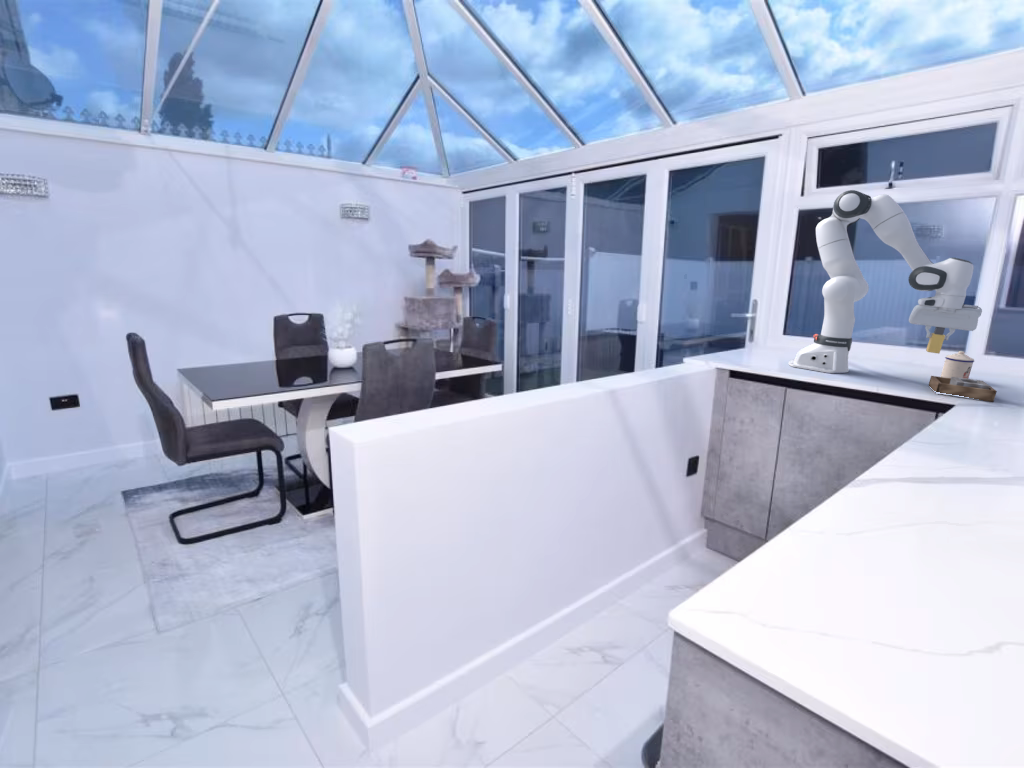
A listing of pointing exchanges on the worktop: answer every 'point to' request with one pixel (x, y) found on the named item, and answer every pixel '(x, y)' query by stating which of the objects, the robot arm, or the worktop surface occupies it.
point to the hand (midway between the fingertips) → (936, 338)
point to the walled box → (963, 387)
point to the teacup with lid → (957, 365)
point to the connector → (936, 340)
